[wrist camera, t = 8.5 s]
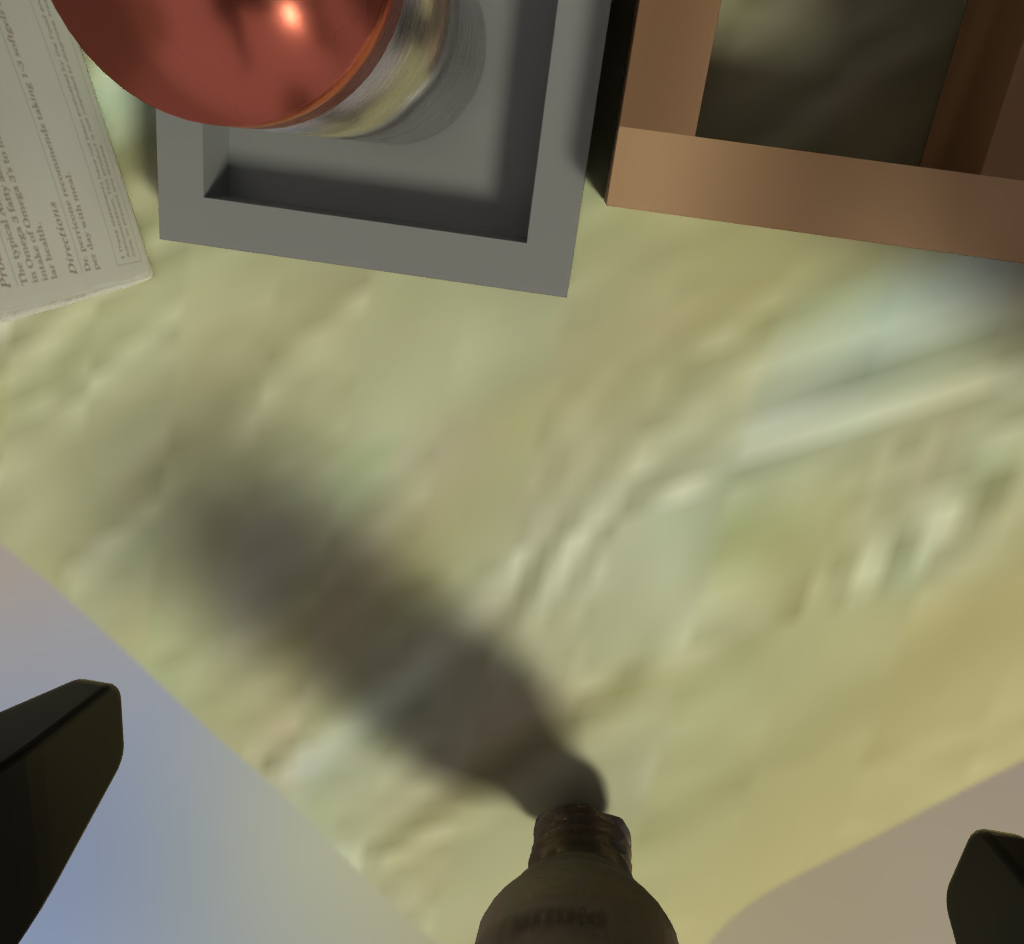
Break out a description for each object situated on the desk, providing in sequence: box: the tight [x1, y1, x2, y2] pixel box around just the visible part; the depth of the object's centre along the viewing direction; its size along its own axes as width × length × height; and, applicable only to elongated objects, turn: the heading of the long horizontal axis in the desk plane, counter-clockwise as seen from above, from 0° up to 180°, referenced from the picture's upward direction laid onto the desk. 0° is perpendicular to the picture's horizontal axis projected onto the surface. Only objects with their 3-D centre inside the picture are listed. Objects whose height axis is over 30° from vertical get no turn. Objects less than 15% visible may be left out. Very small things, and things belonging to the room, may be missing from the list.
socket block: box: [604, 0, 1024, 263], centre depth 15 cm, size 8×8×3 cm
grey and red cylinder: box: [51, 0, 486, 145], centre depth 13 cm, size 4×4×9 cm
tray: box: [156, 0, 612, 298], centre depth 16 cm, size 9×9×2 cm
